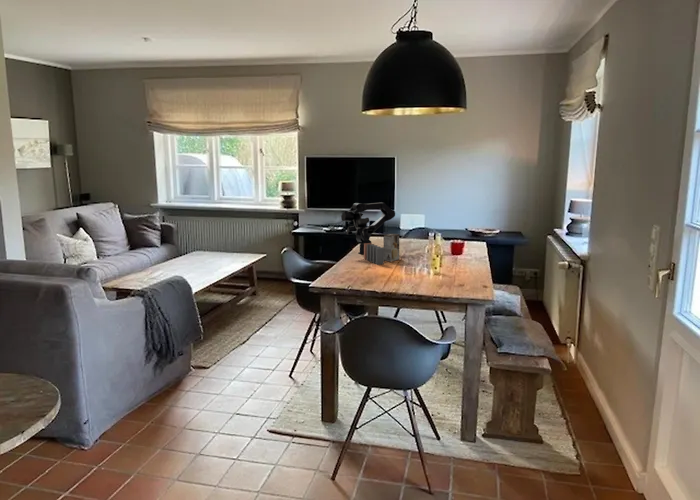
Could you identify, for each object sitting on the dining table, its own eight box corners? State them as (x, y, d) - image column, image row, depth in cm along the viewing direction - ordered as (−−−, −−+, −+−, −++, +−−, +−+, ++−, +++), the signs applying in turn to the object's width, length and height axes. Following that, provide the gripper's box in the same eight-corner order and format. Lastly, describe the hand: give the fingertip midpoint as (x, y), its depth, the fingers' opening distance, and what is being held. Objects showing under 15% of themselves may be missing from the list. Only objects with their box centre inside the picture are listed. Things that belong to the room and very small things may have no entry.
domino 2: (369, 261, 334) (369, 245, 332) (376, 261, 335) (376, 245, 334) (370, 262, 332) (370, 246, 330) (377, 261, 334) (377, 245, 332)
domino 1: (366, 260, 338) (366, 244, 336) (373, 259, 340) (373, 244, 338) (367, 260, 336) (367, 244, 335) (374, 260, 338) (374, 244, 336)
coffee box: (391, 258, 344) (391, 233, 341) (399, 259, 340) (399, 234, 338) (383, 260, 337) (383, 235, 334) (391, 261, 333) (391, 235, 330)
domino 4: (375, 264, 326) (375, 247, 324) (382, 263, 327) (382, 247, 325) (376, 264, 324) (377, 248, 322) (383, 264, 326) (383, 247, 324)
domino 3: (372, 262, 330) (372, 246, 328) (379, 262, 331) (379, 246, 330) (373, 263, 328) (373, 247, 326) (380, 262, 330) (380, 246, 328)
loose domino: (363, 258, 342) (364, 243, 340) (370, 258, 344) (370, 243, 342) (365, 259, 340) (365, 243, 339) (371, 258, 342) (371, 243, 340)
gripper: (347, 214, 343) (354, 233, 335) (374, 212, 350) (381, 231, 342) (343, 224, 352) (349, 244, 344) (369, 223, 359) (376, 242, 350)
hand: (364, 240), depth 345 cm, fingers closed
